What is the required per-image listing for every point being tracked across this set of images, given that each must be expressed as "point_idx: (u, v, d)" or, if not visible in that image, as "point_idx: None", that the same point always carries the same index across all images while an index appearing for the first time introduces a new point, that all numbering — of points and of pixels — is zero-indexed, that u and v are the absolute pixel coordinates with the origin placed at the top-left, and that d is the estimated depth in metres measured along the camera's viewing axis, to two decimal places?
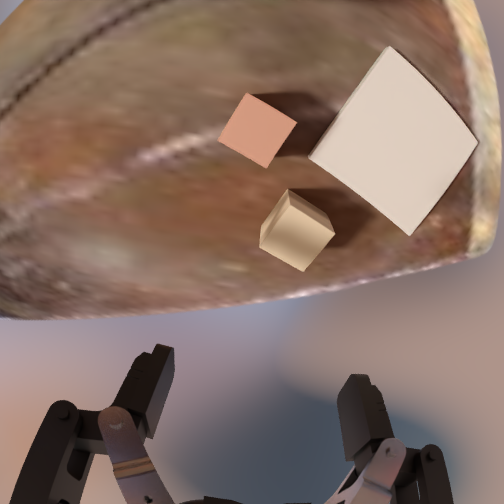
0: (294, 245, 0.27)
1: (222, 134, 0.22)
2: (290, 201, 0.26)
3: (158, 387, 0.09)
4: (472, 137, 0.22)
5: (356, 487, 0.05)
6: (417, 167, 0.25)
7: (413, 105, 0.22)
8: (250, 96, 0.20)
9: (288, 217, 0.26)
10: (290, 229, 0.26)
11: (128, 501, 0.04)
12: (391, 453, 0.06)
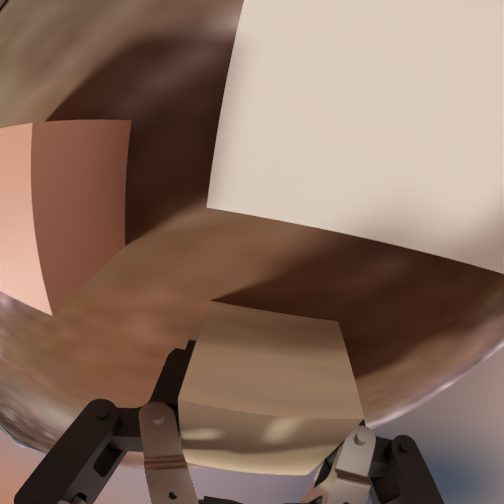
0: (257, 457, 0.08)
1: None
2: (190, 373, 0.07)
3: None
4: None
5: (330, 481, 0.06)
6: None
7: None
8: None
9: (197, 422, 0.07)
10: (223, 439, 0.07)
11: (152, 494, 0.04)
12: (358, 440, 0.07)
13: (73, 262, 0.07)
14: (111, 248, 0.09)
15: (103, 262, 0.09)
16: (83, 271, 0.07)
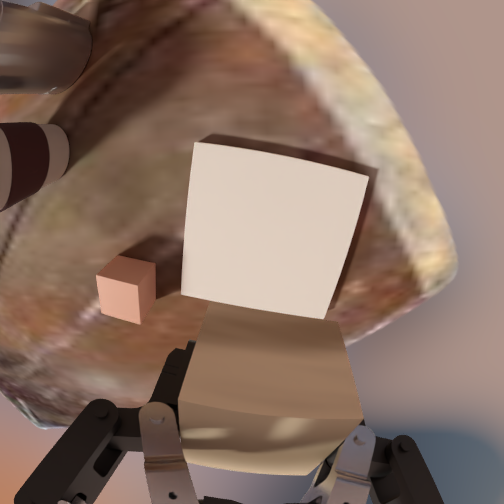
0: (257, 457, 0.08)
1: (101, 308, 0.26)
2: (190, 373, 0.07)
3: None
4: (356, 176, 0.23)
5: (330, 481, 0.06)
6: (293, 254, 0.26)
7: (252, 192, 0.24)
8: (99, 277, 0.25)
9: (197, 422, 0.07)
10: (223, 439, 0.07)
11: (152, 494, 0.04)
12: (359, 440, 0.07)
13: (144, 310, 0.28)
14: (152, 302, 0.30)
15: (150, 307, 0.29)
16: (146, 311, 0.28)
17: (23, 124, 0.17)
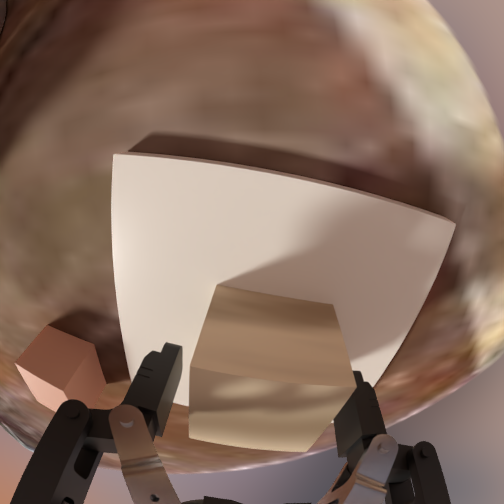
0: (260, 429, 0.09)
1: (35, 397, 0.14)
2: (200, 344, 0.09)
3: (168, 385, 0.09)
4: (438, 223, 0.10)
5: (349, 485, 0.05)
6: None
7: (231, 258, 0.12)
8: (19, 366, 0.12)
9: (206, 391, 0.08)
10: (228, 409, 0.09)
11: (134, 499, 0.04)
12: (383, 449, 0.07)
13: (87, 407, 0.15)
14: (100, 390, 0.18)
15: (98, 397, 0.17)
16: (91, 406, 0.16)
17: None
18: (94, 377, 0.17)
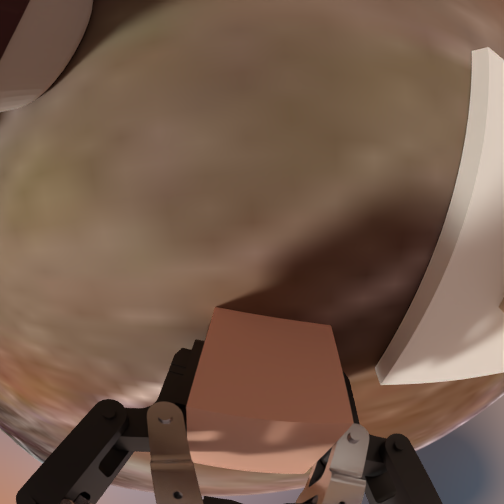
0: None
1: (191, 457, 0.08)
2: None
3: None
4: None
5: (325, 481, 0.06)
6: None
7: None
8: (202, 412, 0.07)
9: None
10: None
11: (157, 493, 0.04)
12: (352, 439, 0.07)
13: None
14: None
15: None
16: None
17: None
18: None
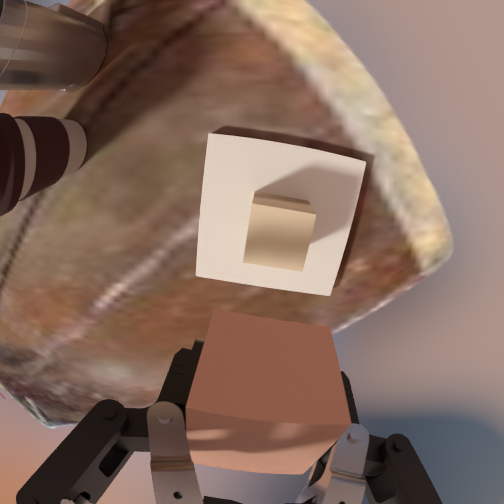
0: (278, 246, 0.24)
1: None
2: (253, 200, 0.23)
3: None
4: (355, 161, 0.25)
5: (325, 481, 0.06)
6: None
7: (261, 178, 0.26)
8: (201, 413, 0.07)
9: (256, 217, 0.23)
10: (265, 229, 0.23)
11: (156, 493, 0.04)
12: (352, 439, 0.07)
13: None
14: None
15: None
16: None
17: (44, 118, 0.19)
18: None
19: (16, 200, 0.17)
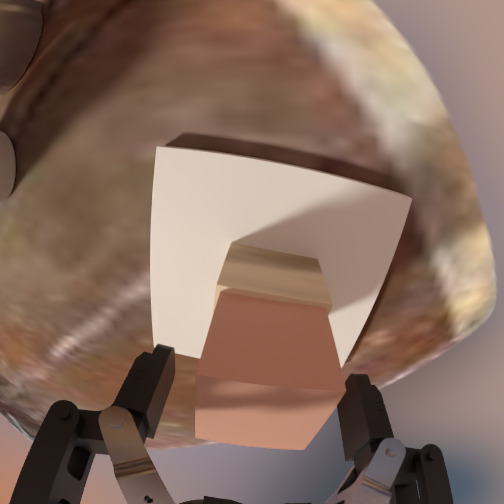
0: None
1: (198, 432, 0.10)
2: (222, 273, 0.13)
3: (159, 387, 0.09)
4: (396, 198, 0.15)
5: (356, 487, 0.05)
6: None
7: (242, 222, 0.16)
8: (210, 379, 0.08)
9: None
10: None
11: (128, 501, 0.04)
12: (390, 453, 0.06)
13: None
14: None
15: None
16: None
17: None
18: None
19: None
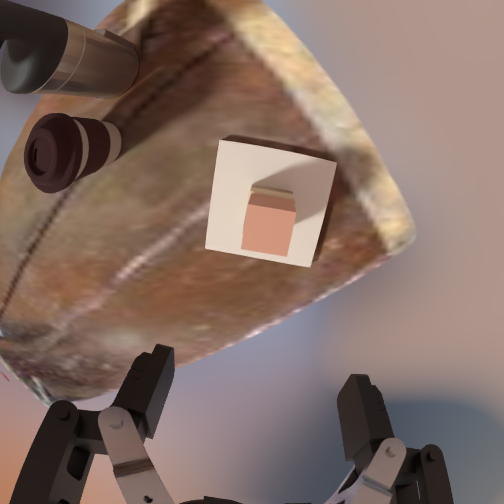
0: None
1: (242, 243, 0.29)
2: (251, 189, 0.33)
3: (158, 387, 0.09)
4: (328, 162, 0.34)
5: (356, 487, 0.05)
6: None
7: (257, 174, 0.36)
8: (252, 206, 0.27)
9: None
10: None
11: (128, 501, 0.04)
12: (391, 453, 0.06)
13: None
14: None
15: None
16: None
17: (91, 120, 0.28)
18: None
19: (72, 181, 0.26)
